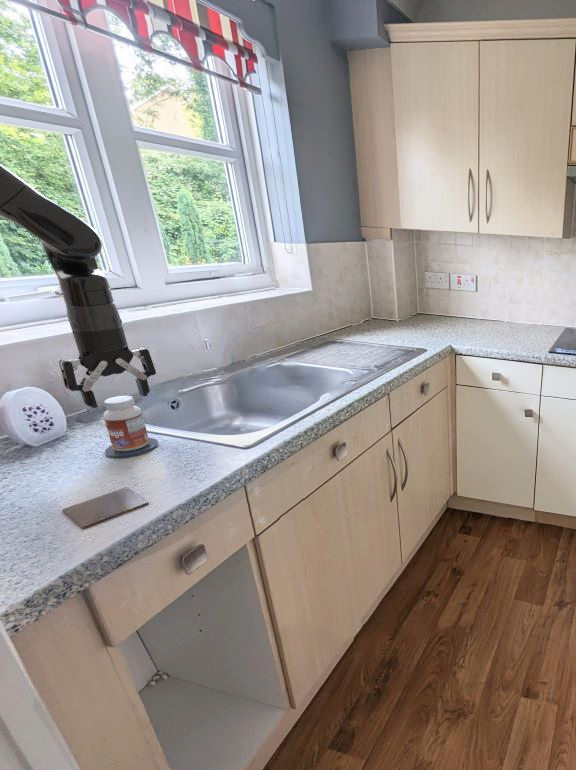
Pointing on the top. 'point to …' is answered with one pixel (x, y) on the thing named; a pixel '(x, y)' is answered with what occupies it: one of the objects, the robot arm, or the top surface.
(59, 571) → the top surface
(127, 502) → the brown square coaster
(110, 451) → the plate
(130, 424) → the pill bottle
